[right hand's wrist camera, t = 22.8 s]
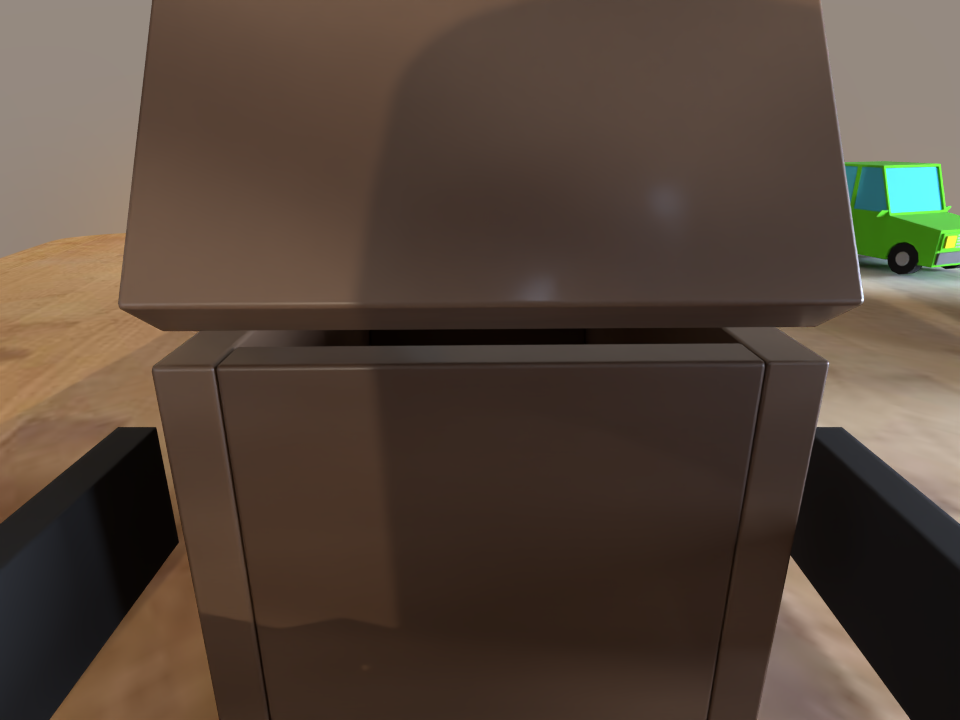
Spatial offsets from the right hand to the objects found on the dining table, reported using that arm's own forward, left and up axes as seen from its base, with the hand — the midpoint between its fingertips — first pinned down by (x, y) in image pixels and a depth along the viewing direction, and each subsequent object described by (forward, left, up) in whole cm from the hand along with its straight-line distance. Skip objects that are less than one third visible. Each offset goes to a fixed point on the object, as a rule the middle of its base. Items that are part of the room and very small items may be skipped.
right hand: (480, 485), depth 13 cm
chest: (+1, -4, -7) cm, 8 cm away
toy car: (-34, -60, -7) cm, 69 cm away
